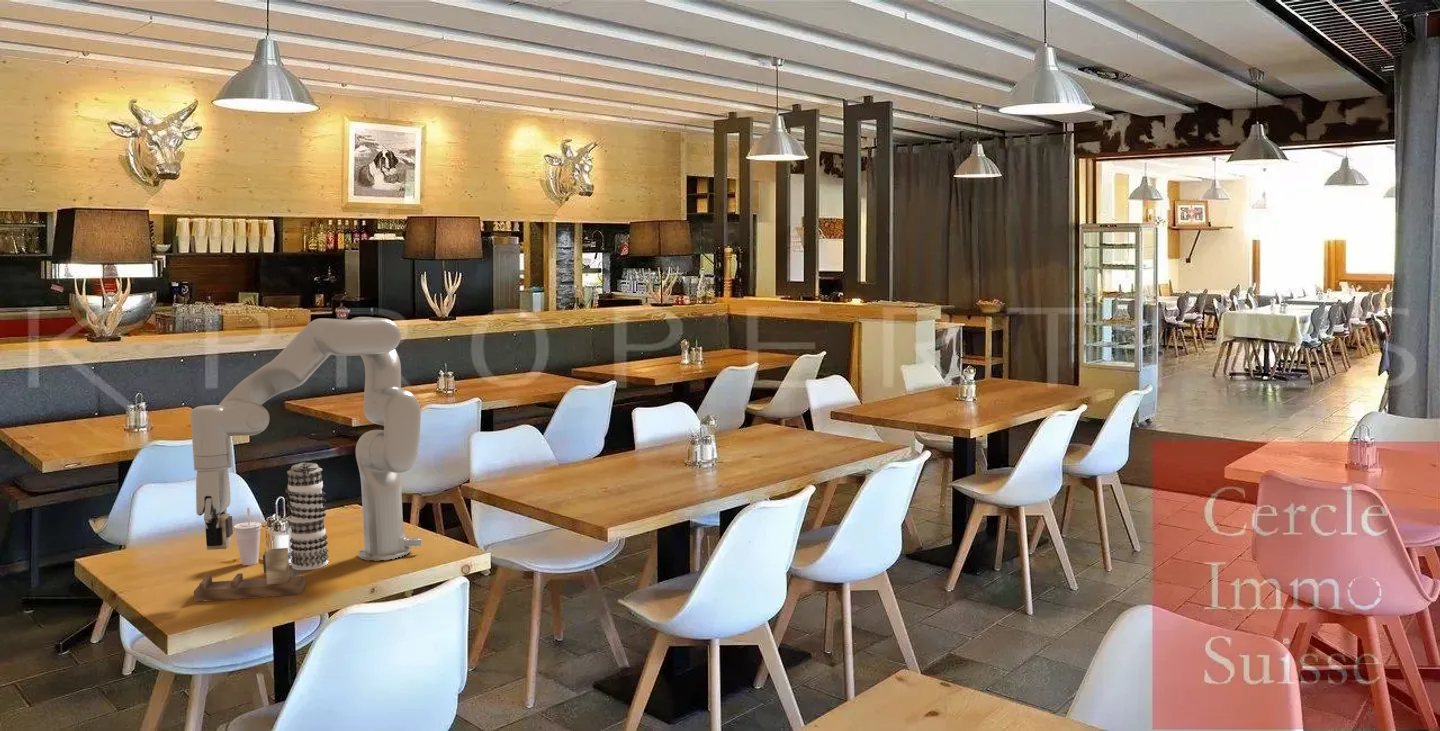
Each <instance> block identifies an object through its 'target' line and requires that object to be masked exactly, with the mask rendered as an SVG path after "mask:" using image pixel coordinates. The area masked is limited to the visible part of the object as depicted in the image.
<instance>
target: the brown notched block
mask: <svg viewBox="0 0 1440 731" xmlns="http://www.w3.org/2000/svg"><path fill="white" fill-rule="evenodd" d="M289 560H290V559H289V548H288V547H282V548H281V547H278V548H269V549H268V550H267V551H265V553H264V554H263V555H262V561H263V566H262V567H263V574H266V577H264V578H262V577H261V578H249V579H244V576H243V573H242V572H239V573H237V574H236V575H234V576H235V577H234V578H233V579H231V580H219V581H213V575H206V576H205V577H204V578H203V580H202V581H200V583H199V585H197V587H196V588H195V589H194V590H193V597H194V598H193V601H202V602H205V601H204V600H216V601H226V600H229V599H230V600H240V598H244V599H253V598H254V597H258V598H268V597H267V596H272V597H282V596H285V597H286V596H294V595H295V596H297V595H301V594H302V592H303V590H304V589H305V587H306V579H305V575H292V576H291V575H290V574H291V573H290V561H289Z"/></svg>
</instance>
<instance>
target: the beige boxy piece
mask: <svg viewBox="0 0 1440 731" xmlns="http://www.w3.org/2000/svg"><path fill="white" fill-rule="evenodd" d="M213 518H215V519H216V517H213ZM220 527H222V539H223V544H222V545H221V546H207V545H206V550H207V551H209V550H210V551H211V550H227V549H228V548H229V547H230V546H231V545H232V538H231V537H232V535H233V534H234V531H233V530H234V528H233V527H234V526H233V516H232V515H230V513H227V514H220Z"/></svg>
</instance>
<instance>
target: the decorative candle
mask: <svg viewBox="0 0 1440 731" xmlns="http://www.w3.org/2000/svg"><path fill="white" fill-rule="evenodd" d="M322 471H323V468H321V467H320V466H319V464H317V463H315V462H300V463H299V462H298V463H295V464H293V465H292V466H291V468H289V470H287V472H286V473H287V480H288V481H287V482H288V483H287V487H286V488H285V490H284V492H285V493H286V495H285V499H286V501H287V504H286V507H287V510H286V512H287V514H288V515H289V518H288V521H289V522H290V528H291V531H290V539H289V542H290V543H291V544H290V547H289V548H290V549H291V550H292V551H290V554H289V555H290V556H291V560H290V563H292V565H291V568H292V569H293V570H295V571H310V570H311V571H312V570H316V569H321V568H324V567H326V566H328V565H329V563H328V562H329V555H328V552H329V549H328V547H327V545H328V543H329V542H328V541H327V539H328V535H327V534H326V527H325V518H326V516H327V513H325V512H326V510H327V507H326V506H323V504H325V503H326V502H327V499H326V498H324V497H325V496H326V495H327V493H326V492H324V491H323V490H322V489H324V488H325V487H326V485H325V484H323V483H324V482H323V480H322V476H323V475H322ZM327 564H328V565H327ZM325 565H326V566H325ZM323 566H324V567H323Z"/></svg>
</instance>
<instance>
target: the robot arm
mask: <svg viewBox="0 0 1440 731" xmlns="http://www.w3.org/2000/svg"><path fill="white" fill-rule="evenodd" d="M401 336H402V334H401V329H400V328H399V326H398V325H397V323H396V322H394V321H393V320H391V319H388V318H383V317H372V316H358V317H357V316H356V317H352V318H351V319H339V318H325V317H324V318H316V319H313V320H312V321H310V322H308V324H306V326H304V327H303V328H302V329H301V331H300V332H299V333H297V335H296V336H295V337H294V338H293V339H292V340H291V341H290V342H289V343H288V344H286V346H285V347H284V349H283V350H282V351H281V352H279V354H278V355H276V356H275V357H274V358H273V359H272V360H271V361H270V362H267V363H266V364H265V365H263V366H261V367H260V368H258V369H257V370H255V371H254V372H253V373H251V374H250V375H248V376H246V377H245V378H243V379H242V380H241V381H240V382H239V383H238V384H236V386H234V388H233V389H232V390H231V391H229V393H228V394H226V396H225V397H223V399H222V400H221V401H220V402H219V404H209V405H200V406H196V407H194V408H193V409H192V410H191V412H190V424H191V426H190V427H191V440H192V460H193V470H194V471H196V480H195V482H196V483H195V500H196V501H195V504H196V505H195V506H196V508H195V509H196V510H195V511H196V515H197V516H199V517H200V516H201V517H202V515H204V516H203V520H204V524H205V525H204V526H205V539H206V547H207V546H221V545H222V544H223V539H222V527H220V514H228V510H227V509H228V508H229V507H230V505H231V484H230V482H231V481H230V476H229V469H231V468H232V466H233V464H232V463H233V462H232V446H231V437H238V436H239V437H240V436H242V437H248V436H249V437H250V436H251V437H253V436H256V435H259V434H261V433H262V432H264V431H265V430H266V429H267V427H268V426H269V423H270V413H269V411H268V410H267V409H266V408H265V407H264V406H263V404H265V403H267V401H268V400H270V399H272V398H273V397H275V396H277V395H279V394H281V393H284V392H287V391H290V390H293V389H296V388H297V387H300V386H302V385H303V384H304V383H306V382H307V380H309V378H310V377H311V376H312V375H313V374H314V373H315V372H316V370H317V369H318V368H319V367H320V366H321V365H322V364H323V363H324V362H325V361H326V360H327V359H328V358H329V357H330V356H331V355H332V356H339V357H341V356H342V357H343V356H344V357H345V356H346V357H347V356H349V357H351V356H355V357H356V356H360V358H361V359H362V362H363V364H364V371H365V372H364V374H365V376H364V377H365V378H364V379H365V380H364V393H363V394H364V395H363V397H364V398H363V414H364V416H365V418H366V420H367V421H369V422H370V423H371V424H375V425H378V426H379V425H380V426H383V430H382V429H372V430H369V431H366V432H364V433H363V434H362V435H361V436H360V437H359V439H358V440H357V442H356V445H355V459H356V462H357V467H358V471H359V477H360V486H361V488H360V489H361V502H362V504H361V505H362V506H361V507H362V523H363V524H362V525H363V542H364V547H363V548H361V549H360V550H359V551H358V558H359V559H362V560H363V559H364V560H365V561H369V560H374V561H373V562H377V561H378V562H381V561H380V560H384V561H390V559H392V560H396V559H395V558H397V559H399V558H398V557H400V558H403V557H405V556H404V555H406V556H407V554H408V553H409V552H410V551H412V548H411V547H422V546H423V539H422V538H421V537H420V538H419V537H418V536H415V537H414V536H413V537H409V536H407V532H404V519H403V518H404V517H403V500H402V499H403V498H402V493H403V492H402V491H403V490H402V482H401V481H402V480H401V476H400V474H401V473H405V472H407V471H409V470H410V469H412V468H413V467H414V465H415V464H416V462H417V459H418V456H419V450H420V449H419V448H420V438H421V434H420V433H421V420H422V419H421V417H422V416H421V415H422V410H421V405H420V402H419V401H418V398H417V397H416V396H415V395H414V394H413V393H412V392H411V391H409V390H406V389H402V366H401V365H402V364H401V360H400V356H399V354H398V352H397V349H396V348H397V347H398V346H399V344H400V341H401V340H402V339H401ZM213 517H216V519H215V518H213ZM410 553H411V552H410ZM410 553H409V554H410ZM409 554H408V555H409ZM402 556H403V557H402Z"/></svg>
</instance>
